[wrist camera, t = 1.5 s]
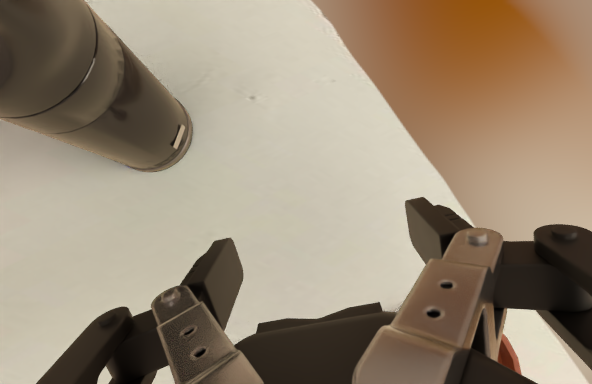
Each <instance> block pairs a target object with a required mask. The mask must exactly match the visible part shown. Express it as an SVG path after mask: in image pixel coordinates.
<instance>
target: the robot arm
mask: <svg viewBox="0 0 592 384" xmlns="http://www.w3.org/2000/svg"><path fill="white" fill-rule="evenodd" d="M0 119H1V120H4V121H7V122H10V123H12V124H15V125H18V126H21V127H23V128H26V129H29V130H32V131H35V132H38V133H40V134H43V135H46V136H49V137H51V138H54V139H57V140H60V141H62V142H65V143H68V144H70V145H73V146H76V147H79V148H81V149H84V150H87V151H90V152H92V153H95V154H98V155H101V156H103V157H106V158H109V159H111V160H114V161H117V162H119V163H122V164H124V165H126V166H128V167H130V168H133V169H136V170H139V171H144V172H156V171H161V170H164V169H167V168H169V167H171V166H173V165H174V164H175V163H177V162H178V161H179V160H180V159H181V158H182V157H183V156H184V155H185V153H186V152H187V150H188V148H189V146H190V143H191V139H192V122H191V119H190V116H189V114H188V112H187V111H186V109H185V108H184V107H183V106H182V105H181V104H180V102H179V101H178V100H176V99H175V98H174V97H173V96H172V95H171V94H170V93H169V92H168V90H167V89H166V88H165V87H164V86H163V85H162V84H161V83H160V82H159V81H158V80H157V78H156V77H155V76H154V75H153V74H152V73H151V72H150V71H149V70H148V69H147V68H146V67H145V65H144V64H143V63H142V62H141V61H140V60H139V59H138V58H137V57H136V56H135V55H134V54H133V52H132V51H131V50H130V49H129V48H128V47H127V46H126V45H125V44H124V43H123V42H122V40H121V39H120V38H119V37H118V36H117V35H116V34H115V33H114V32H113V31H112V30H111V29H110V27H108V26H107V24H106V23H105V22H104V21H103V20H102V19H101V18H100V17H99V16H98V15H97V14H96V13H95V11H94V10H93V9H92V8H91V7H90V6H89V5H88V4H87V3H86V2H85V1H84V0H0ZM405 208H406V215H407V221H408V228H409V234H410V238H411V242H412V244H413V246H414V248H415V249H416V251H417V252H418V254H419V255H420V257H421V258H422V260H423V261H424V262H425V264H426V266H425V268H424V269H423V271H422V273H421V274H420V276H419V278H418V279H417V281H416V283H415V284H414V286H413V288H412V289H411V291H410V293H409V294H408V296H407V298H406V299H405V301H404V303H403V304H402V306H401V308H400V309H399V311H398V313H396V312H387V311H382V308H381V305H380V302H378V303H372V304H367V305H361V306H355V307H350V308H346V309H344V310H341V311H338V312H336V313H333V314H330V315H328V316H325V317H322V318H319V319H281V320H276V321H270V322H264V323H259V324H258V327H257V332H256V334H253V335H251V336H249V337H247V338H245V339H243V340H241V341H240V342H238V343H237V344H235V345H233V344H232V342H231V341H230V339H229V338H228V337H227V335H226V334H225V332H224V330H225V328H226V325H227V322H228V319H229V317H230V314H231V311H232V308H233V306H234V303H235V300H236V298H237V295H238V292H239V289H240V287H241V284H242V281H243V268H242V265H241V262H240V259H239V256H238V253H237V250H236V247H235V245H234V242H233V240H232V239H231V238H226V239H222V240H217V241H214V242H213V244H212V245H211V247H210V248H209V250H208V251H207V253H205V254H204V255H203V256H201V257H200V258H199V259H198V260H197V261H196V262H195V264H194V265H193V268H191V270H190V271H189V273H188V274H187V275H186V277H185V278H184V280H183V281H182V283H181V284H180V285H179V286H176V287H173V288H170V289H168V290H166V291H164V292H163V293H161V294H160V295H158V296H157V297H156V298H155V299H154V300H153V302H152V304H151V308H152V309H151V310H149V311H146V312H144V313H141V314H138V315H136V316H133V317H132V315H131V313H130V311H129V309H128V308H127V307H118V308H115V309H112V310H110V311H108V312H106V313H104V314H102V315H101V316H99V317H98V318H96V319H95V320H94V321H93V322H92V323H91V324H90V325H89V326H88V327H87V328H86V329H85V330H84V331H83V332H82V334H81V335H80V336H79V337H78V338H77V339H76V340H75V341H74V342H73V344H72V345H71V346H70V347H69V348H68V349H67V350H66V351H65V352H64V353H63V355H62V356H61V357H60V358H59V359H58V360H57V361H56V362H55V363H54V364H53V366H52V367H51V368H50V369H49V370H48V371H47V372H46V373H45V374H44V376H43V377H42V378H41V379H40V380H39V381H38V382H37V383H36V384H97V381H98V377H99V375H100V373H101V371H102V370H103V368H104V367H105V366H106V367H107V369H108V371H109V372H110V374H111V376H112V379H111V381H110V382H109V384H152V382H153V380H154V378H155V376H156V373H157V370H159V369H161V368H163V367H166V366H168V365H169V366H170V369H171V372H172V375H173V378H174V381H175V384H537V383H535V382H533V381H532V380H530V379H528V378H526V377H524V376H522V375H521V374H519V373H517V372H515V371H513V370H511V369H509V368H508V367H506V366H504V365H502V364H500V363H498V352H499V347H500V342H501V337H502V333H503V328H504V323H505V318H506V314H507V308H511V309H529V310H536V311H537V312H538V314H539V315H540V316H541V317H542V318H543V319H544V320H545V321H546V322H547V323H548V324H549V325H550V326H551V327H552V328H553V330H554V331H555V332H556V333H557V334H558V335H559V336H560V337H561V338H562V339H563V340H564V341H565V342H566V343H567V344H568V345H569V347H570V348H572V350H573V351H574V352H575V353H576V354H577V355H578V356H579V357H580V358H581V359H582V360H583V361H584V362H585V363H586V364H587V365H588V367H589V368H590V369H591V370H592V232H591V231H589V230H587V229H584V228H581V227H578V226H572V225H563V224H556V225H546V226H542V227H540V228H537V229H536V230H535V231H534V241H519V242H509V241H503V237H502V235H501V234H500V233H498V232H496V231H493V230H490V229H485V228H474V227H472V226H471V225H470V224H469V223H467V222H466V221H465V220H464V219H462V218H461V217H460V216H459V215H457V214H456V213H455V212H454V211H452V210H451V209H450V208H447V207H444V206H441V205H435V206H433V205H432V204H431V203H430V202H429V201H428V200H426V199H425V198H424V197H420V198H416V199H411V200H406V201H405Z"/></svg>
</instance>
